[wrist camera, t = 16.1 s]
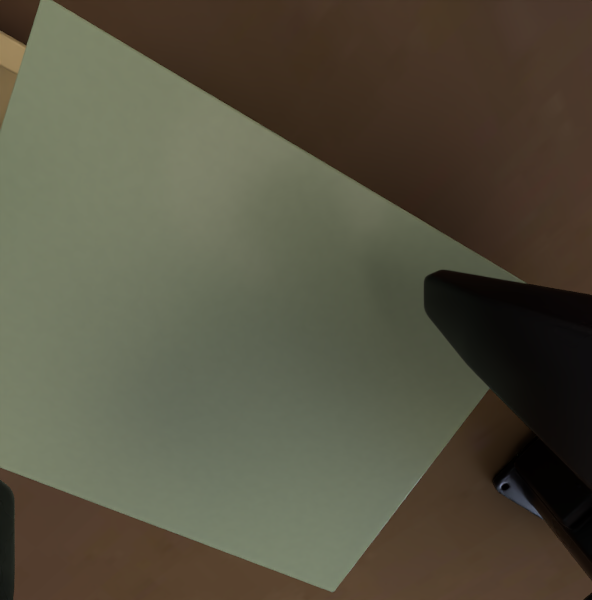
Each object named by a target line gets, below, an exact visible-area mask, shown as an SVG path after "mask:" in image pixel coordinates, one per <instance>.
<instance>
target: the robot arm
mask: <svg viewBox="0 0 592 600" xmlns="http://www.w3.org/2000/svg"><path fill="white" fill-rule="evenodd" d="M424 309H425V312H426V314H427V316H428V317H429V318H430V320H431V321H432V322H433V323H434V325H435V326H436V327H437V328H438V330H439V331H440V332H441V333H442V334H443V336H444V337H445V338H446V339H447V341H448V342H449V343H450V344H451V346H452V347H453V348H454V349H455V351H456V352H457V353H458V354H459V356H460V357H461V358H462V359H463V360H464V362H465V363H466V364H467V365H468V366H469V367H470V368H471V369H472V371H473V372H474V373H475V374H476V375H477V376H478V377H479V378H480V379H481V380H482V381H483V382H484V383H485V384H486V385H487V386H488V387H489V388H490V389H491V390H492V391H493V392H494V393H495V394H496V395H497V396H498V397H499V398H500V399H501V400H502V401H503V402H504V403H505V404H506V405H507V406H508V407H509V408H510V409H511V410H512V411H513V412H514V413H515V414H516V415H517V416H518V417H519V418H520V419H521V420H522V421H523V422H524V423H525V424H526V425H527V426H528V427H529V428H530V429H531V430H532V431H533V432H534V433H535V434H536V435H537V436H536V437H535V438H534V439H533V440H532V441H531V442H530V443H529V444H528V445H527V446H526V447H525V448H524V449H523V450H522V451H521V452H520V453H519V454H518V455H517V456H516V457H515V458H514V459H513V460H512V461H511V462H510V463H509V464H508V465H507V466H506V467H505V468H504V469H503V470H502V471H501V472H500V473H499V474H498V475H497V476H496V477H495V479H494V480H493V485H494V487H495V488H496V489H497V491H498V492H499V493H501V494H502V495H504V496H506V497H507V498H509V499H510V500H512V501H514V502H515V503H517V504H519V505H520V506H522V507H523V508H525V509H527V510H528V511H530V512H532V513H533V514H535V515H536V516H538V517H540V518H541V519H543V520H545V522H546V523H547V524H548V526H549V527H550V528H551V529H552V531H553V532H554V533H555V534H556V536H557V537H558V538H559V540H560V541H561V542H562V543H563V545H564V546H565V547H566V549H567V550H568V551H569V552H570V554H571V555H572V556H573V557H574V559H575V560H576V561H577V563H578V564H579V565H580V566H581V568H582V569H583V570H584V571H585V573H586V574H587V575H588V577H589V578H590V579H591V580H592V295H589V294H583V293H578V292H572V291H566V290H560V289H554V288H549V287H543V286H537V285H531V284H526V283H520V282H514V281H508V280H502V279H497V278H491V277H485V276H479V275H474V274H468V273H462V272H456V271H451V270H444V269H442V270H438V271H436V272H434V273H431V274H429V275H427V276H426V277H425V279H424ZM504 483H505V484H504ZM502 484H503V485H502ZM14 574H15V558H14V496H13V493H12V491H11V489H10V488H9V487H8V486H7V485H6V484H5V483H4V482H2V481H1V480H0V600H13V594H14ZM584 600H592V593H591V594H590V595H588V596H587V597H586V598H585V599H584Z"/></svg>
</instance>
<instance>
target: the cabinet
mask: <svg viewBox="0 0 592 600" xmlns="http://www.w3.org/2000/svg"><path fill="white" fill-rule="evenodd" d="M442 269H444V270H451V271H456V272H462V273H468V274H474V275H479V276H485V277H491V278H497V279H502V280H508V281H514V282H520V283H526V282H524V281H522V280H521V279H519V278H517V277H516V276H514V275H512V274H511V273H509V272H507V271H506V270H504V269H502V268H501V267H499V266H497V265H495V264H494V263H492V262H490V261H489V260H487V259H485V258H484V257H482V256H480V255H479V254H477V253H475V252H474V251H472V250H470V249H469V248H467V247H465V246H464V245H462V244H460V243H459V242H457V241H455V240H454V239H452V238H450V237H448V236H447V235H445V234H443V233H442V232H440V231H438V230H437V229H435V228H433V227H432V226H430V225H428V224H427V223H425V222H423V221H422V220H420V219H418V218H417V217H415V216H413V215H412V214H410V213H408V212H407V211H405V210H403V209H401V208H400V207H398V206H396V205H395V204H393V203H391V202H390V201H388V200H386V199H385V198H383V197H381V196H380V195H378V194H376V193H375V192H373V191H371V190H370V189H368V188H366V187H365V186H363V185H361V184H360V183H358V182H356V181H354V180H353V179H351V178H349V177H348V176H346V175H344V174H343V173H341V172H339V171H338V170H336V169H334V168H333V167H331V166H329V165H328V164H326V163H324V162H323V161H321V160H319V159H318V158H316V157H314V156H313V155H311V154H309V153H307V152H306V151H304V150H302V149H301V148H299V147H297V146H296V145H294V144H292V143H291V142H289V141H287V140H286V139H284V138H282V137H281V136H279V135H277V134H276V133H274V132H272V131H271V130H269V129H267V128H266V127H264V126H262V125H261V124H259V123H257V122H255V121H254V120H252V119H250V118H249V117H247V116H245V115H244V114H242V113H240V112H239V111H237V110H235V109H234V108H232V107H230V106H229V105H227V104H225V103H224V102H222V101H220V100H219V99H217V98H215V97H214V96H212V95H210V94H208V93H207V92H205V91H203V90H202V89H200V88H198V87H197V86H195V85H193V84H192V83H190V82H188V81H187V80H185V79H183V78H182V77H180V76H178V75H177V74H175V73H173V72H172V71H170V70H168V69H167V68H165V67H163V66H161V65H160V64H158V63H156V62H155V61H153V60H151V59H150V58H148V57H146V56H145V55H143V54H141V53H140V52H138V51H136V50H135V49H133V48H131V47H130V46H128V45H126V44H125V43H123V42H121V41H120V40H118V39H116V38H114V37H113V36H111V35H109V34H108V33H106V32H104V31H103V30H101V29H99V28H98V27H96V26H94V25H93V24H91V23H89V22H88V21H86V20H84V19H83V18H81V17H79V16H78V15H76V14H74V13H73V12H71V11H69V10H67V9H66V8H64V7H62V6H61V5H59V4H57V3H56V2H54V1H52V0H41V1H40V4H39V7H38V10H37V13H36V17H35V20H34V23H33V26H32V30H31V33H30V36H29V39H28V42H27V46H26V49H25V52H24V55H23V58H22V62H21V65H20V68H19V71H18V74H17V78H16V81H15V84H14V87H13V91H12V94H11V97H10V100H9V103H8V107H7V110H6V113H5V116H4V119H3V123H2V126H1V129H0V468H3V469H6V470H8V471H11V472H14V473H16V474H19V475H22V476H24V477H27V478H30V479H32V480H35V481H38V482H40V483H43V484H46V485H48V486H51V487H54V488H56V489H59V490H62V491H64V492H67V493H70V494H72V495H75V496H78V497H80V498H83V499H86V500H88V501H91V502H94V503H96V504H99V505H102V506H104V507H107V508H110V509H112V510H115V511H118V512H120V513H123V514H126V515H128V516H131V517H134V518H136V519H139V520H142V521H144V522H147V523H150V524H152V525H155V526H158V527H160V528H163V529H166V530H168V531H171V532H174V533H176V534H179V535H181V536H184V537H187V538H189V539H192V540H195V541H197V542H200V543H203V544H205V545H208V546H211V547H213V548H216V549H219V550H221V551H224V552H227V553H229V554H232V555H235V556H237V557H240V558H243V559H245V560H248V561H251V562H253V563H256V564H259V565H261V566H264V567H267V568H269V569H272V570H275V571H277V572H280V573H283V574H285V575H288V576H291V577H293V578H296V579H299V580H301V581H304V582H307V583H309V584H312V585H315V586H317V587H320V588H323V589H325V590H328V591H331V592H334V591H335V589H336V588H337V587H338V586H339V584H340V583H341V582H342V580H343V579H344V578H345V576H346V575H347V574H348V572H349V571H350V570H351V569H352V567H353V566H354V565H355V563H356V562H357V561H358V559H359V558H360V557H361V555H362V554H363V553H364V552H365V550H366V549H367V548H368V546H369V545H370V544H371V542H372V541H373V540H374V539H375V537H376V536H377V535H378V533H379V532H380V531H381V529H382V528H383V527H384V525H385V524H386V523H387V522H388V520H389V519H390V518H391V516H392V515H393V514H394V512H395V511H396V510H397V508H398V507H399V506H400V505H401V503H402V502H403V501H404V499H405V498H406V497H407V495H408V494H409V493H410V491H411V490H412V489H413V488H414V486H415V485H416V484H417V482H418V481H419V480H420V478H421V477H422V476H423V475H424V473H425V472H426V471H427V469H428V468H429V467H430V465H431V464H432V463H433V461H434V460H435V459H436V458H437V456H438V455H439V454H440V452H441V451H442V450H443V448H444V447H445V446H446V444H447V443H448V442H449V441H450V439H451V438H452V437H453V435H454V434H455V433H456V431H457V430H458V429H459V427H460V426H461V425H462V424H463V422H464V421H465V420H466V418H467V417H468V416H469V414H470V413H471V412H472V410H473V409H474V408H475V407H476V405H477V404H478V403H479V401H480V400H481V399H482V397H483V396H484V395H485V394H486V392H487V391H488V390H489V387H488V386H487V385H486V384H485V383H484V382H483V381H482V380H481V379H480V378H479V377H478V376H477V375H476V374H475V373H474V372H473V371H472V369H471V368H470V367H469V366H468V365H467V364H466V363H465V362H464V360H463V359H462V358H461V357H460V356H459V354H458V353H457V352H456V351H455V349H454V348H453V347H452V346H451V344H450V343H449V342H448V341H447V339H446V338H445V337H444V336H443V334H442V333H441V332H440V331H439V330H438V328H437V327H436V326H435V325H434V323H433V322H432V321H431V320H430V318H429V317H428V316H427V314H426V312H425V309H424V279H425V277H426V276H427V275H429V274H431V273H434V272H436V271H438V270H442ZM526 284H527V283H526Z"/></svg>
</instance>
